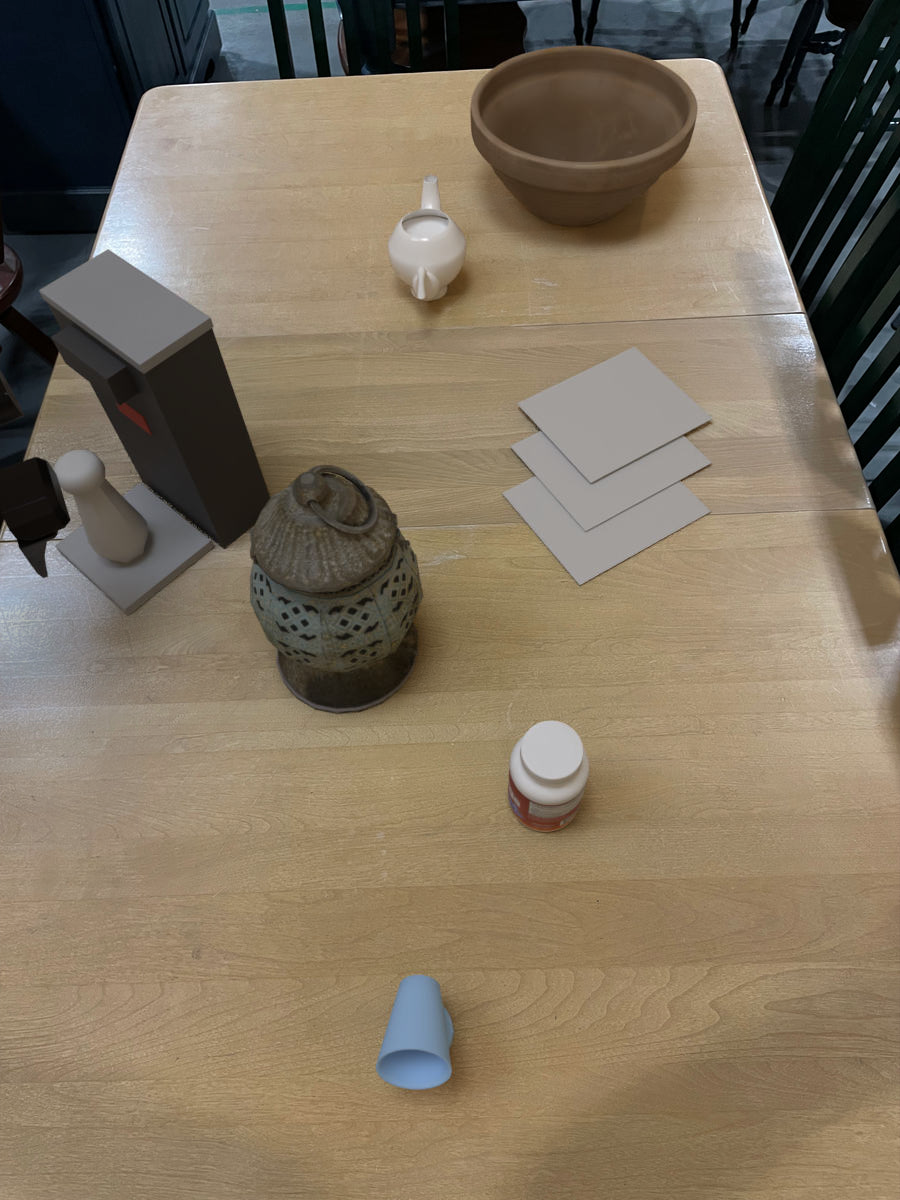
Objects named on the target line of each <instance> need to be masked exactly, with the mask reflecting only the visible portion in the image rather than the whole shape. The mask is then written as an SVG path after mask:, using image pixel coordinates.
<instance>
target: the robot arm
mask: <svg viewBox="0 0 900 1200" xmlns="http://www.w3.org/2000/svg"><path fill="white" fill-rule="evenodd" d="M24 417H25V414H24V411H23V409H22V407H21V405H20V403H19V401H18V399H17V397H16V395H15V393H14V391H13V390H12V388H11V386H10V385H9V383H8V381H7V379H6V377H5V376H4V374H3V372H2V370H1V369H0V427H2V426H5V425H8V424H9V423H12V422H14V421H17V420H19V419H21V418H24ZM65 500H66V499H65V497H64V493H63V489H62V488H61V487H60V484H59V480H58V477H57V474H56V473H55V471H54V467H52V465H51V463H50V462H49V461H48V460H46V459H44V458H41V457H39V456H33V457H31V458H28V459H25V460H22V461H19V462H16V463H14V464H11V465H9V466H5V467H3V468H0V521H3V520H4V523H5V524H6V526H7V529H8V530H9V532H10V533H11V534H12V536H13V537H14V538H15V539H16V541H17V546H18V549H19V550H20V552H21V553H22V554H23V556H24V557H25V558H26V560H27V562H28V563H29V564H30V566H31V567H32V568H33V570H34V571H35V573H36V574H37V575H38V576H40V577H41V578H42V579H45V578H48V577H49V574H48V573H49V572H48V569H47V562H46V551H47V545H48V542H49V541H51V540H54V539H55V538H57V536H58V534H59V531H61V530H63V529H66V527H68V524H70V522H71V521H72V520H71V516H70V513H69V510H68V507H67V503H66V501H65Z"/></svg>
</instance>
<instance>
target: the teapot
mask: <svg viewBox="0 0 900 1200" xmlns="http://www.w3.org/2000/svg"><path fill="white" fill-rule="evenodd" d="M439 187H440V186H439V179H438V177H437V176H436V175H435V174H427V175H424V177H423V181H422V191H421V199H420V200H421V201H420V208H418V209H415V210H412V211H410V212H408V213H406V214H405V215H404V216H402V217H401V218H400V219H399V220H398V222H397V224H396V225H395V227H394V228H393V231H392V232H391V233H390V236H389V238H388V240H387V255H388V259H389V263H390V265H391V267H392V269H393V271H394V272H395V274H396V275H397V277H398V278H399V279H400V280H401V281H402V282H403V283H404V284H405V285H407V286H409V287H410V288H409V289H410V293H411V295H412V296H413V297H414V298H416V299H417V300H420V301H423V302H432V301H436V300H439V299H441V298H442V297H444V296H445V295H446V294H447V293H448V285H449V284H451V283H452V282H453V281H454V280H455V279H456V278H457V276H458V275H459V274H460V272H461V270H462V268H463V266H464V264H465V260H466V256H467V241H466V240H467V239H466V237H465V234H464V232H463V230H462V229H461V228H460V227H459V225H458V224H457V223H456V221H455V220H454V219H453V218H452V216H450V215H449V214H448V213H446V212H444V211H443V210H442V203H441V202H442V201H441V195H440V188H439Z"/></svg>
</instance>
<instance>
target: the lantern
mask: <svg viewBox="0 0 900 1200" xmlns="http://www.w3.org/2000/svg"><path fill="white" fill-rule="evenodd" d="M270 497H271V498H270V499H269V501H268V502H267V504H266V505H265V507H264V508H263V509H262V511H261V513H260V515H259V517H258V519H257V521H256V523H255V524H254V525H253V527H251V528H250V529H249V536H250V544H251V546H250V548H249V557H250V559H251V561H252V564H251V568H250V569H251V570H250V575H249V602H250V605H251V607H252V610H253V612H254V614H255V616H256V618H257V620H258V622H259V624H260V627H261V629H262V631H263V634H264V636H265V637H266V638H265V639H266V640H267V642H269V643H270V644H271V645H272V646H274V648H276V665H277V668H278V671H279V674H280V677H281V679H282V682H283V684H284V685H285V687H286V688H287V689H288V691H290V693H291V694H292V695H293V696H294V698H295V699H296V700H298V701H300V702H301V703H304V704H305V705H307V706H308V707H310V708H312V709H314V710H315V711H322V712H326V713H329V714H336V715H338V714H339V715H341V714H353V713H361V712H364V711H366V710H369V709H372V708H374V707H377V706H379V705H381V704H383V703H385V702H386V701H387V700H389V699H390V698H391V697H393V696H394V695H395V694H396V693H398V692H399V691H400V690H401V689H402V687H403V686H404V685H405V683H406V682H407V680H408V679H409V677H411V675H412V674H413V671H414V667H415V665H416V661H417V658H418V654H419V643H418V640H419V639H418V638H419V637H418V629H417V627H416V625H415V623H414V619H415V618H416V615H417V612H418V610H419V608H420V605H421V603H422V601H423V598H424V593H423V587H422V581H421V576H420V569H419V563H418V558H417V554H416V553H415V551H414V550H413V549H412V547H411V541H409V539H406V538H405V536H404V535H403V533H402V532H401V530H400V528H399V527H398V525H399V523H398V516H397V514H396V513H395V512H393V511H392V509H391V508H390V506H389V504H388V502H387V500H386V499H385V498H384V497H382V495H380V493H379V492H377V490H375V488H373V487H371V486H369V485H366V484H365V483H364V482H363V481H362V480H361V479H360V478H358V476H356V475H355V474H354V473H352V472H350V471H349V470H347V469H345V468H342V467H340V466H337V465H333V464H320V465H315V466H313V467H311V468H309V470H307V471H304V472H302V473H300V474H298V475H297V477H296V478H295V479H294V480H292V482H290V483H289V484H288V485H287V486H286V487H285V488H284V489H282V490H279V491H278V492H276V493H274V494H272V495H271V496H270Z"/></svg>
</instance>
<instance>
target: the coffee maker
mask: <svg viewBox="0 0 900 1200" xmlns="http://www.w3.org/2000/svg"><path fill="white" fill-rule="evenodd" d="M38 292H39V293H40V296H41V298H42V299H43V301H45V302H46V304H47V305H48V307H49V309H50V311H51V313H52V315H53V317H54V319H55V320H56V322H57V324H58V326H59V328H60V331H58V332H56V333H55V334H53V335H52V336H50V338H51V340H52V341H53V344H54V345H55V347H56V349H57V351H58V352H59V354H60V356H61V358H62V360H63V362H64V364H65V365H67V366H68V367H69V368H71V369H72V370H73V371H75V372H76V374H78V375H79V376H81V377H82V378H83V379H85V380H86V381H87V382H89V384H90V386H91V388H92V391H93V392H94V393H95V395H96V397H97V399H98V401H99V403H100V405H101V406H102V409H103V411H104V413H105V414H106V416H107V418H108V420H109V422H110V424H111V426H112V428H113V430H114V431H115V434H116V435H117V437H118V438H119V441H120V443H121V444H122V447H123V449H124V450H125V452H126V454H127V456H128V457H129V459H130V461H131V464H132V465H133V467H134V469H135V471H136V473H137V475H138V476H139V478H140V481H141V482H139V483H137V484H136V485H135V486H133V487H132V488H131V489H129V490H128V491H127V492H126V493H123V495H122V496H123V497H124V498H125V499H126V500H127V501H128V502H129V503H130V504H131V505H132V506H133V507H134V508H135V509H136V510H137V511H138V512H139V513H140V514H141V515H142V516H143V518H144V519H145V520H146V521H147V525H148V536H147V540H146V544H145V548H144V553H143V554H142V555H140V556H139V557H137V558H135V559H134V560H132V561H130V562H129V563H123V562H116V561H111V560H109V559H106V558H104V557H102V556H100V555H98V554H97V553H96V552H95V551H94V550H93V548H92V547H91V545H90V544H89V542H88V539H87V536H86V533H85V530H84V527H83V524H82V525H81V526H79V527H78V528H76V529H75V530H74V531H72V532H71V533H70V534H68V535H67V536H66V537H64V538H63V539H61V540H60V541H58V542H57V543H55V544H54V547H55V549H56V550H57V551H58V553H60V554H61V555H62V557H64V558H65V559H66V560H67V561H68V562H69V563H71V564H72V565H73V567H74V568H76V569H77V570H78V571H79V572H80V573H81V574H82V575H83V576H84V577H85V578H87V580H88V581H90V582H91V583H92V584H93V585H94V586H95V587H96V588H97V589H98V590H99V591H100V592H101V593H103V594H104V595H105V596H106V597H107V598H108V599H109V600H110V601H111V602H112V603H113V604H114V605H115V606H117V608H118V609H119V610H121V611H122V612H123V613H124V614H125V615H126V616H130V615H131V614H133V613H134V612H135V611H136V610H137V609H139V608H141V606H142V605H144V604H145V603H147V602H148V601H149V600H151V598H152V597H154V596H155V595H157V593H159V592H160V591H161V590H163V589H164V588H165V587H166V586H168V585H169V584H170V583H172V582H173V581H174V580H176V578H178V577H179V576H180V575H181V574H183V572H185V571H186V570H187V569H189V568H190V567H191V566H193V565H194V564H195V563H196V562H197V561H198V560H200V559H201V558H202V557H204V556H205V555H206V554H207V553H208V552H210V551H211V550H212V549H213V548H214V544H213V542H212V541H214V543H216V544H217V545H218V546H220V547H221V548H222V549H223V550H224V549H226V548H227V547H229V546H230V545H232V543H233V542H235V541H236V540H237V539H239V538H240V537H242V535H244V534H245V533H246V532H247V531H248V530H250V529H252V528H253V527H254V526H255V523H256V521H257V519H258V517H259V515H260V513H261V511H262V509H263V508H264V507H265V505H266V504H267V502H268V501H269V499H270V498H271V497H272V496H271V494H270V492H269V489H268V486H267V483H266V479H265V477H264V474H263V471H262V468H261V465H260V463H259V460H258V457H257V453H256V451H255V448H254V446H253V445H254V444H253V442H252V440H251V436H250V434H249V431H248V428H247V425H246V422H245V419H244V416H243V413H242V410H241V408H240V404H239V402H238V399H237V395H236V393H235V390H234V387H233V384H232V381H231V377H230V376H229V372H228V370H227V367H226V364H225V360H224V358H223V355H222V352H221V349H220V346H219V344H218V340H217V337H216V334H215V331H214V323H213V321H212V317H211V316H209V315H208V314H206V313H204V312H203V311H202V310H200V309H199V308H197V307H196V306H194V305H193V304H191V303H190V302H188V301H187V300H185V299H183V298H182V297H180V296H179V295H178V294H177V293H175V292H173V291H172V290H170V289H169V288H168V287H166V286H164V285H163V284H161V283H159V282H158V281H157V280H156V279H154V278H152V277H151V276H149V275H147V274H146V273H145V272H144V271H142V270H140V269H139V268H137V267H136V266H134V265H133V264H131V263H130V262H128V261H127V260H126V259H124V258H122V257H121V256H119V255H118V254H116V253H115V252H114V251H112V250H110V249H109V248H108V249H105V250H103V251H102V252H101V253H98V254H97V255H95V256H93V258H90V259H89V260H87V261H86V262H84V263H82V264H80V265H78V266H77V267H76V268H73V269H72V270H71V271H69V272H67V273H65V274H64V275H62V276H60V277H59V278H56V280H54V281H52V282H50V283H48V284H47V285H45V286H43V287H42V288H40V289H39V290H38ZM145 485H146V486H145ZM152 491H153V492H152ZM157 495H158V496H157ZM162 499H163V500H164V501H163V500H162ZM167 503H168V504H167ZM183 516H184V517H183ZM191 523H192V524H191ZM196 527H197V528H196ZM207 536H208V537H207Z"/></svg>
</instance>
